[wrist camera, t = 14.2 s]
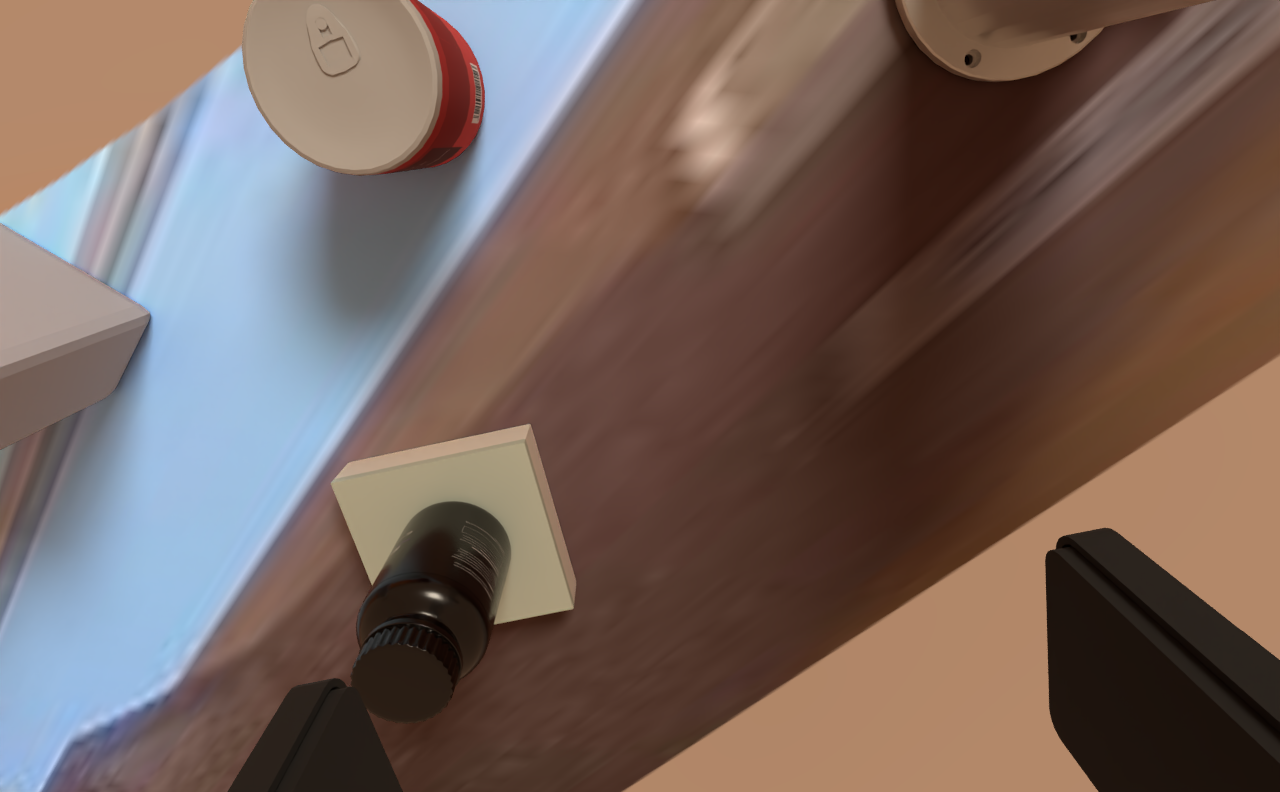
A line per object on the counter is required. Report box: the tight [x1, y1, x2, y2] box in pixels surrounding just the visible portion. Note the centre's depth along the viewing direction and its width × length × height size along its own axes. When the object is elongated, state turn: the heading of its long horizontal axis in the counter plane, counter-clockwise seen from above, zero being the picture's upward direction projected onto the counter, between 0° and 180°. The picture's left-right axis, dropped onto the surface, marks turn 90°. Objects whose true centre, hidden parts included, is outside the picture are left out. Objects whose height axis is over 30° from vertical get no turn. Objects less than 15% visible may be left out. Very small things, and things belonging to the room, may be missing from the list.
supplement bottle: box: [351, 501, 511, 724], centre depth 39 cm, size 7×7×12 cm
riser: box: [331, 424, 576, 624], centre depth 46 cm, size 12×12×3 cm
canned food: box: [242, 0, 485, 176], centre depth 33 cm, size 8×8×11 cm
